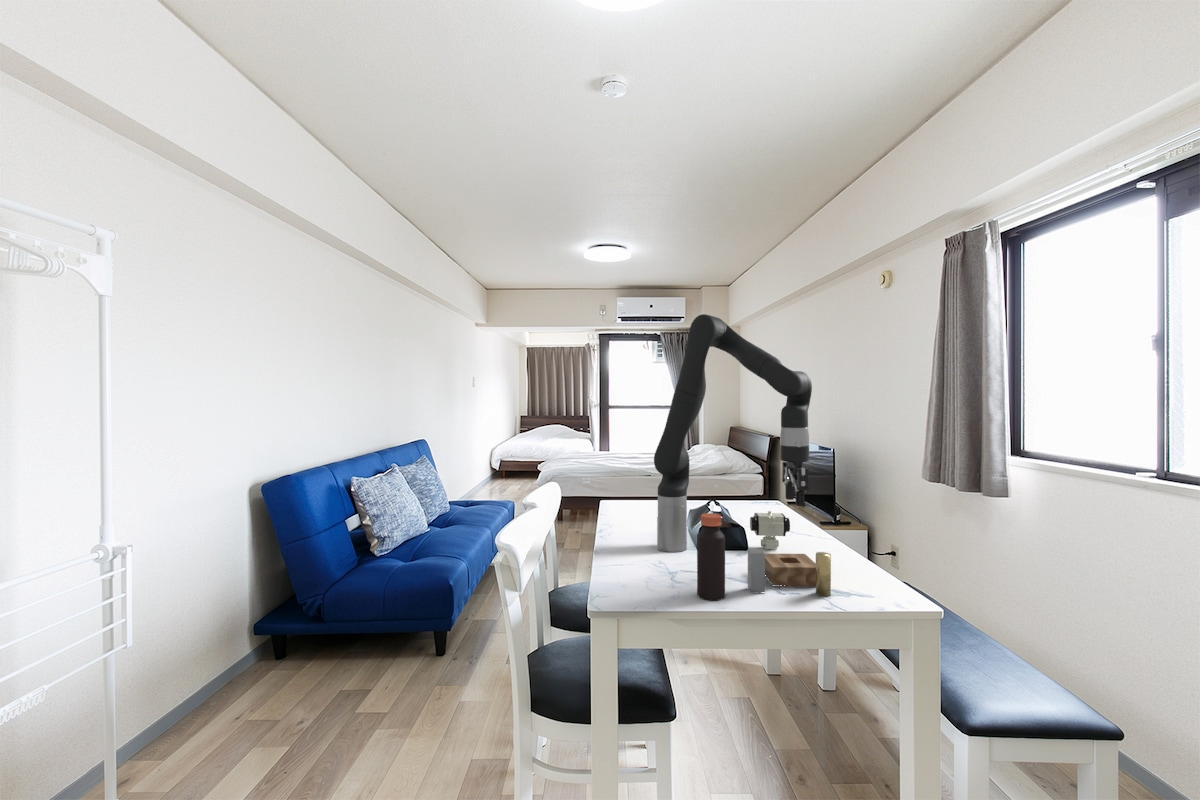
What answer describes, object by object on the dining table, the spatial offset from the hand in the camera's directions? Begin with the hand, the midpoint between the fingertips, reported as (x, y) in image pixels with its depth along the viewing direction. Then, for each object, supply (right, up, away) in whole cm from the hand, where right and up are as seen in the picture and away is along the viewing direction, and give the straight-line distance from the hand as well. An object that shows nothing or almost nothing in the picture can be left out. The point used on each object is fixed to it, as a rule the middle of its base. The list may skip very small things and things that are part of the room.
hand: (794, 502), depth 154 cm
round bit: (+2, -20, -15) cm, 25 cm away
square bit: (-14, -20, -12) cm, 27 cm away
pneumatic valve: (0, -20, +24) cm, 31 cm away
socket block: (-3, -20, -4) cm, 20 cm away
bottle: (-26, -20, -16) cm, 37 cm away
